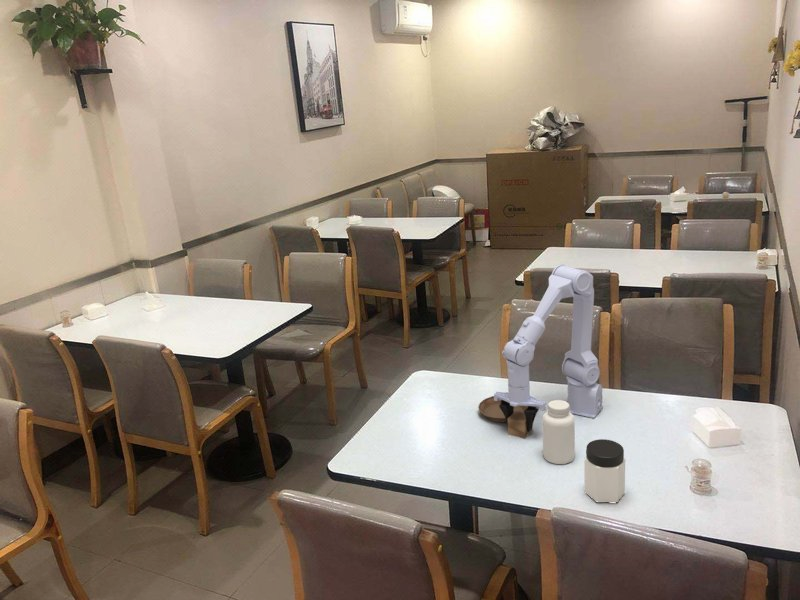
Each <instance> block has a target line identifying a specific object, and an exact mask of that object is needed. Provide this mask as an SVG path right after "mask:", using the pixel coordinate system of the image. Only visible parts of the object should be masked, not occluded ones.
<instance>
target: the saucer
mask: <svg viewBox="0 0 800 600" xmlns="http://www.w3.org/2000/svg"><path fill="white" fill-rule="evenodd" d="M500 404H501V401H500V400H498V401H495V400H494V395H493V396H488V397H487V398H484V399H483V400H481V402H480V403H479V404H478V410H479V412H480V413H481V414H482V415H483V417H485V418H486V419H488V420H490V421H493V422H496V423H497V422H498V423H507V421H506V418H505V416H504V414H503V412H502V410H501V409H500V407H499V405H500ZM527 408H528V406H519V405H518V406H516V407H515V406H514V412H515V411H518V412H523V413H524V411H525V410H526V409H527ZM514 412H513V413H514Z"/></svg>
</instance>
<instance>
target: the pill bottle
mask: <svg viewBox="0 0 800 600" xmlns="http://www.w3.org/2000/svg"><path fill="white" fill-rule="evenodd" d="M569 410H570V405H569V404H568V401H566V400H562V399H554V400H551V401H549V402H548V403H547V411H546V412H544V414H543V416H542V419H541V420H542V455H543V457H544V460H545V461H547V462H549V463H551V464H555V465H565V464H570V463H571V462H572V461H573V460H575V455H576V454H575V452H576V451H575V450H576V446H575V445H576V444H575V443H576V442H575V438H576V437H575V434H576V433H575V432H576V431H575V429H576V427H575V426H576V425H575V424H576V423H575V420H576V419H575V417H574V414H572V413H570V412H569Z"/></svg>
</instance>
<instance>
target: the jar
mask: <svg viewBox="0 0 800 600" xmlns="http://www.w3.org/2000/svg"><path fill="white" fill-rule="evenodd" d="M624 451H625V450H624V447H623V445H621V444H620V443H619V442H616V441H615V440H611V439H606V438H605V439H604V438H603V439H602V438H601V439H595V440H592V441H590V442H588V443H587V445H586V450H585V454H586V456H585V457H584V478H583V479H584V482H583V483H584V487H583V488H584V489H583V490H584V491H583V492H584V493H585V492H586V493H587V494H588V495H589V496H591V498H593V499H594V500H595V501H598V502H618V503H619V501H620V500H621V499H622V498H623V496H624V495H625V492H626V491H625V486H626V484H625V483H626V458H625V455H624V453H625V452H624ZM586 493H585V494H586ZM587 494H586V495H587ZM623 494H624V495H623ZM588 495H587V496H588ZM622 495H623V496H622ZM589 496H588V497H589ZM591 498H590V499H591ZM620 498H621V499H620ZM593 499H592V500H593ZM619 499H620V500H619ZM594 500H593V501H594ZM595 501H594V502H595Z"/></svg>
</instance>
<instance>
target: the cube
mask: <svg viewBox="0 0 800 600" xmlns="http://www.w3.org/2000/svg"><path fill="white" fill-rule="evenodd" d="M532 431H533V428H532V429H531V431H530V432H528V431H527V428H526V416H525V413H523V412H518V411H515V412H514V413H513V414H512V415H511V416H510V417H509V418H508V424H507V434H508V435H509V436H514V437H518V438H522V439H526V438H527V437H528V436H529V434H530V433H531V432H532Z"/></svg>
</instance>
